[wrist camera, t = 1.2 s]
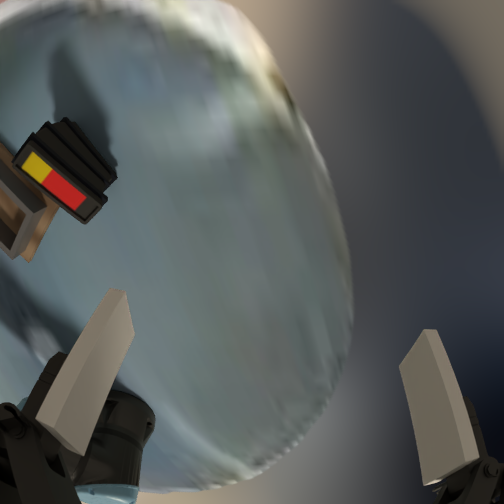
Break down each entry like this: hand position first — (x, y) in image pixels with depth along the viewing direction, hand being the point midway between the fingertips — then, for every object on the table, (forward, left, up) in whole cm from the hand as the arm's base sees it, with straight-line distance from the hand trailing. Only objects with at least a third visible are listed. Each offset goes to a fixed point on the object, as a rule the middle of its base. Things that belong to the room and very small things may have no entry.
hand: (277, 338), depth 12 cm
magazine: (-9, +18, -30) cm, 36 cm away
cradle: (-23, +29, -29) cm, 47 cm away
